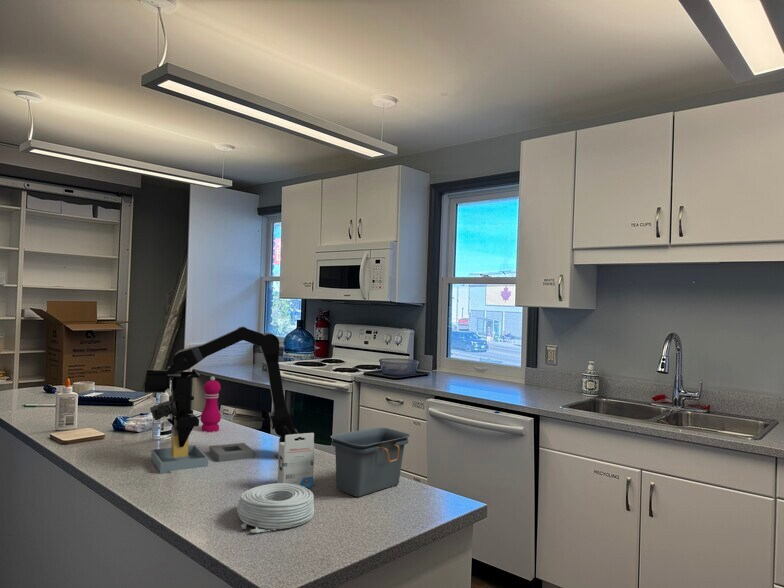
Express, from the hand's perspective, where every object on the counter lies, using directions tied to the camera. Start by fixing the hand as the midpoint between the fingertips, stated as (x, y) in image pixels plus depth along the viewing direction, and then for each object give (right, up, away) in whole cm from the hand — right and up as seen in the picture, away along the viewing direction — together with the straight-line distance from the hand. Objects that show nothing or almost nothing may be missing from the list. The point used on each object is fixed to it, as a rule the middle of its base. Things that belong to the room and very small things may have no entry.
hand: (179, 445), depth 166 cm
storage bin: (+57, -8, -14) cm, 60 cm away
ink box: (+37, -7, -16) cm, 41 cm away
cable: (+36, -7, -37) cm, 52 cm away
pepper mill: (-5, -6, +42) cm, 43 cm away
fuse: (0, -3, 0) cm, 3 cm away
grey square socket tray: (+13, -6, +9) cm, 17 cm away
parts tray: (0, -6, 0) cm, 6 cm away
